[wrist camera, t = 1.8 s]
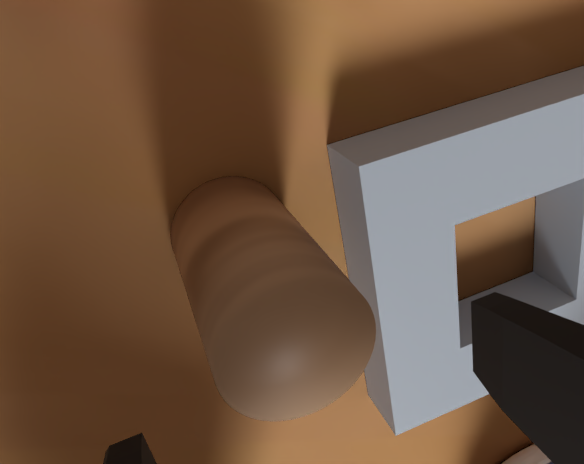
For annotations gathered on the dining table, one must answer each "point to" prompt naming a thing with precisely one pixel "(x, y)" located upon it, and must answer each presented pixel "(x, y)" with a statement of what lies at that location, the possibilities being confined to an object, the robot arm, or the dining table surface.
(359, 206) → the socket block
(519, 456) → the supplement tub
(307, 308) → the dowel
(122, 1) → the dining table surface
